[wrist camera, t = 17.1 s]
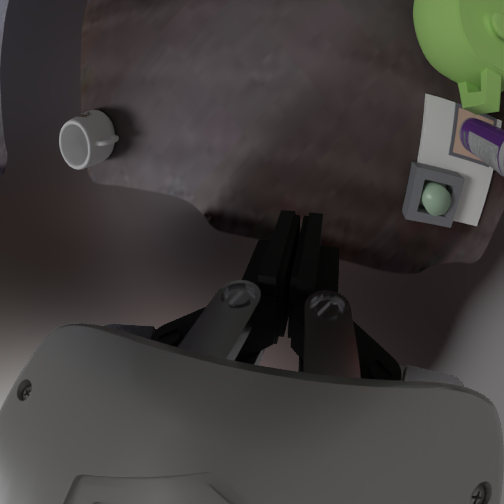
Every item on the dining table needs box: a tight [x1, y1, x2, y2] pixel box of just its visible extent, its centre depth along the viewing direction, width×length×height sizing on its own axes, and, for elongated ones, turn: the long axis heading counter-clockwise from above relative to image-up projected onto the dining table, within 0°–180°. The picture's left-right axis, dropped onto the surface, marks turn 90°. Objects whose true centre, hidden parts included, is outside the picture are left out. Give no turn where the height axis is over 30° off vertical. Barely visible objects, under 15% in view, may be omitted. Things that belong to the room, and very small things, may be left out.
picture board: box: [402, 94, 502, 228], centre depth 25 cm, size 16×13×3 cm
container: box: [459, 118, 504, 177], centre depth 17 cm, size 5×5×15 cm
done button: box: [420, 180, 451, 216], centre depth 28 cm, size 4×4×3 cm
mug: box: [59, 110, 119, 169], centre depth 36 cm, size 12×10×6 cm
